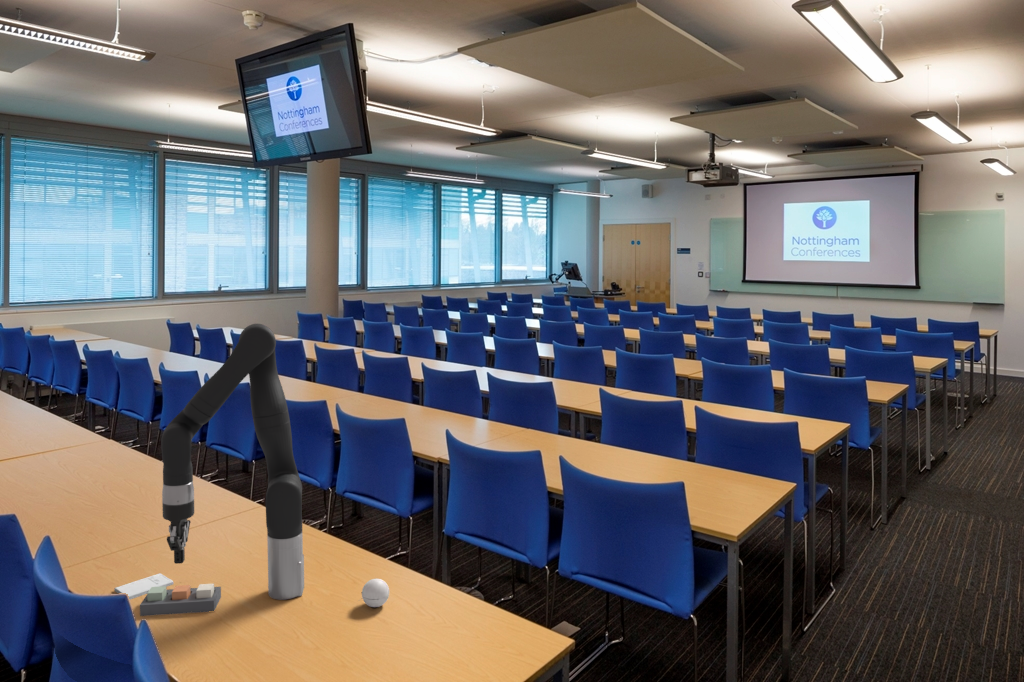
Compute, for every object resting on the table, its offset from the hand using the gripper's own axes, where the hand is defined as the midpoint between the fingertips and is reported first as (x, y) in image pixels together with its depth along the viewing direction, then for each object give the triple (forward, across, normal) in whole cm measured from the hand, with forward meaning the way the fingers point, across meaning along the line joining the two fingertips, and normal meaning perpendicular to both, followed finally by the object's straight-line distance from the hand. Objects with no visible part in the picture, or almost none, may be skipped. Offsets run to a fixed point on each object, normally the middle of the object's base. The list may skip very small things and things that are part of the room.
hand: (179, 562), depth 185 cm
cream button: (+11, 0, -6) cm, 12 cm away
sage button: (+11, 0, +6) cm, 12 cm away
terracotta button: (+11, 0, 0) cm, 11 cm away
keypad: (+12, 0, 0) cm, 12 cm away
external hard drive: (+13, +12, +13) cm, 22 cm away
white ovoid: (+12, -7, -50) cm, 52 cm away
